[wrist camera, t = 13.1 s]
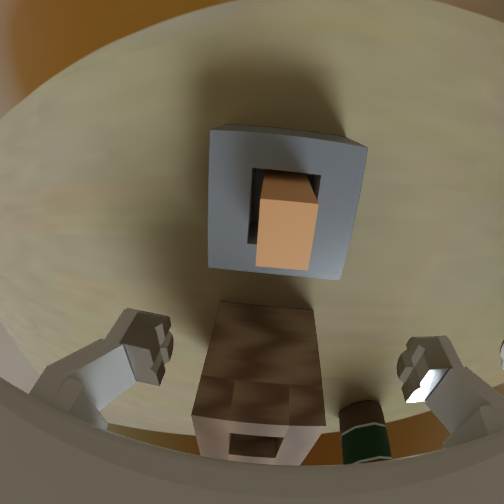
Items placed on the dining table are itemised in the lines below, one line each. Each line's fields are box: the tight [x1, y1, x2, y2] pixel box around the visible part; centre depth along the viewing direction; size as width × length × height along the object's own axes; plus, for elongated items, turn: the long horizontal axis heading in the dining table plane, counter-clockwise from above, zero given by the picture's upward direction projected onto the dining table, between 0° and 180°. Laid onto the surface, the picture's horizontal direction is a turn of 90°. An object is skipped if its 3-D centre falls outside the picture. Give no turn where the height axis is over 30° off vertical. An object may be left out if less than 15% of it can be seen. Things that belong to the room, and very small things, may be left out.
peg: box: [256, 169, 319, 270], centre depth 19 cm, size 3×4×8 cm
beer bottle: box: [339, 400, 392, 465], centre depth 30 cm, size 8×8×24 cm
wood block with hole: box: [191, 301, 326, 466], centre depth 27 cm, size 10×10×14 cm
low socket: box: [208, 124, 368, 280], centre depth 22 cm, size 10×10×6 cm
